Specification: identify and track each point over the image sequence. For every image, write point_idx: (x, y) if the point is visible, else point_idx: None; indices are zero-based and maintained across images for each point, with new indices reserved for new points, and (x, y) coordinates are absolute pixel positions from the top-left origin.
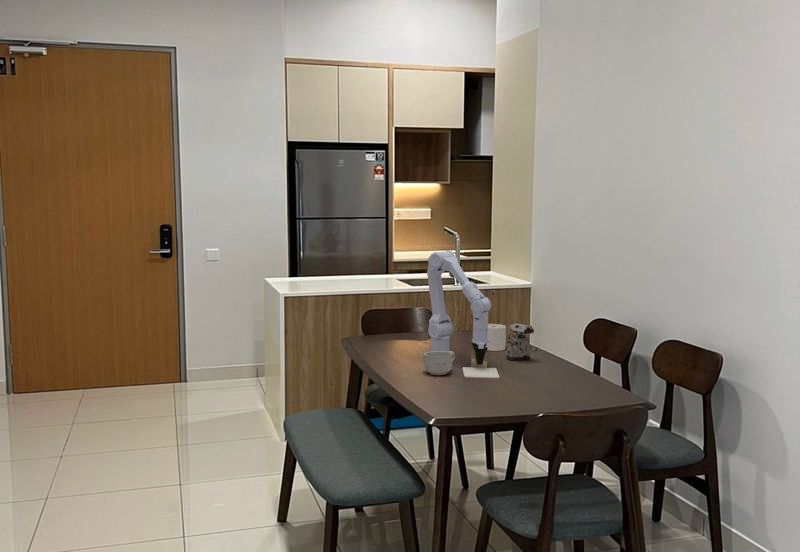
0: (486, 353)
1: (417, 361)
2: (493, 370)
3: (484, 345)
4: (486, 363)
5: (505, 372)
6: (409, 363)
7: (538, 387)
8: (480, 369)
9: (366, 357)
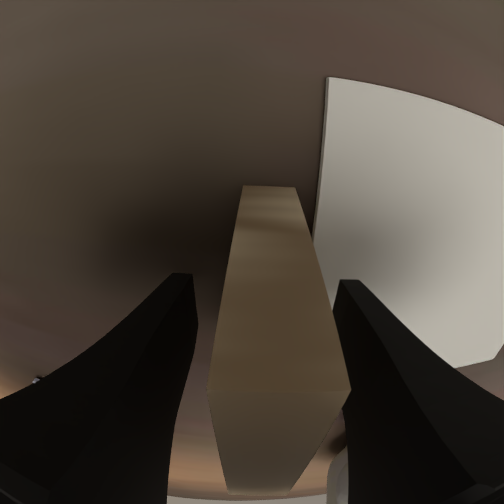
0: (335, 345)
1: (175, 463)
2: (441, 142)
3: (86, 494)
4: (300, 218)
5: (458, 26)
6: (214, 475)
7: None
8: (387, 272)
9: (174, 494)
